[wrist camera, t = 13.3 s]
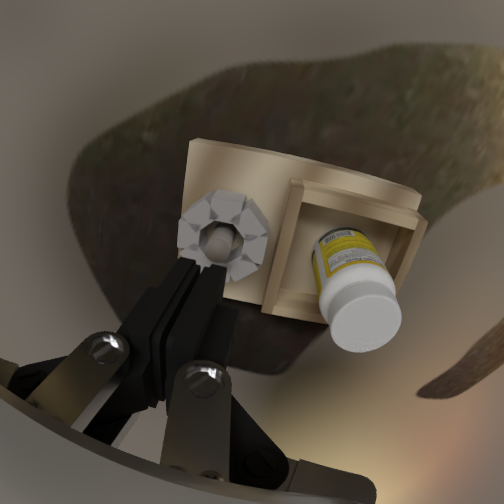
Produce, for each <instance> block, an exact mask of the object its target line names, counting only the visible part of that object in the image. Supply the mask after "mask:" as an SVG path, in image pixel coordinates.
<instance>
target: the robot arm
mask: <svg viewBox="0 0 504 504" xmlns="http://www.w3.org/2000/svg"><path fill="white" fill-rule="evenodd" d="M200 271H201V266H200V265H197V264H196V260H194V259H190V258H185V257H179V258H178V260H177V261H176V263H175V264H174V265H173V267H172V268H171V270H170V271H169V272H168V274H167V275H166V277H165V278H164V280H163V281H162V283H161V284H160V285H159V287H158V288H155V287H149V288H148V289H147V290H146V291H145V293H144V294H143V295H142V297H141V298H140V300H139V301H138V302H137V304H136V305H135V307H134V308H133V309H132V311H131V312H130V314H129V315H128V316H127V318H126V319H125V321H124V322H123V324H122V325H121V326H120V328H119V329H118V331H117V332H116V333H114V332H111V331H100V332H96V333H94V334H91V335H90V336H88V337H87V338H85V339H84V340H83V342H81V343H80V344H79V345H78V346H77V347H76V348H75V349H74V350H73V351H72V353H70V354H69V355H68V356H64V357H59V358H55V359H51V360H47V361H42V362H38V363H33V364H29V365H25V366H23V367H19V365H18V364H16V363H14V362H10V361H7V360H4V359H1V358H0V504H375V502H376V495H377V494H376V488H375V485H374V483H373V482H372V481H371V480H369V479H368V478H367V477H364V476H362V475H359V474H354V473H350V472H346V471H342V470H338V469H334V468H330V467H326V466H323V465H319V464H316V463H312V462H309V461H306V460H302V459H300V460H299V461H297V460H293V459H290V458H287V457H286V456H285V455H284V453H283V452H282V451H281V450H280V449H279V448H278V447H277V445H275V443H274V442H273V441H272V440H271V439H270V438H269V437H268V436H267V435H266V434H265V432H264V431H263V430H262V429H261V428H260V427H259V426H258V425H257V423H256V422H255V421H254V420H253V419H252V418H251V417H250V416H249V414H248V413H247V412H246V411H245V410H244V408H243V407H242V406H241V405H240V404H239V403H238V401H237V400H236V399H235V398H234V397H233V395H232V394H231V391H232V389H231V388H232V383H231V377H230V375H229V374H228V372H227V371H226V367H227V363H228V359H229V355H230V352H231V348H232V344H233V340H234V336H235V331H236V326H237V322H238V317H239V311H240V309H239V308H235V307H230V306H226V305H222V300H223V293H224V287H225V281H226V275H227V267H224V266H220V265H215V264H211V265H210V267H206V266H205V267H204V268H203V270H202V272H201V274H200ZM165 398H166V411H167V416H168V418H167V423H166V428H165V435H164V440H163V446H162V451H161V458H160V464H157V463H154V462H151V461H148V460H145V459H142V458H140V457H137V456H134V455H132V454H129V453H126V452H124V451H121V450H119V449H117V448H118V447H119V445H120V444H121V442H122V440H123V439H124V438H125V436H126V435H127V433H128V432H129V430H130V429H131V427H132V426H133V424H134V423H135V421H136V420H137V418H138V416H139V414H140V411H143V410H146V409H147V408H148V406H150V407H153V408H156V406H157V403H158V401H164V400H165Z"/></svg>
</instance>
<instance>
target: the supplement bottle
mask: <svg viewBox="0 0 504 504" xmlns="http://www.w3.org/2000/svg"><path fill="white" fill-rule="evenodd" d="M311 260H312V267H313V272H314V278H315V283H316V289H317V295H318V302H319V308H320V311H321V314H322V316H323V318H324V319H325V321H326V322H327V323H328V324H329V328H330V333H331V336H332V339H333V340H334V342H335V343H336V344H337V345H338V346H339V347H341V348H342V349H344V350H347V351H350V352H367V351H371V350H374V349H377V348H379V347H381V346H383V345H384V344H386V343H387V342H388V341H389V340H391V339H392V338H393V337H394V335H395V334H396V332H397V331H398V329H399V327H400V324H401V318H402V317H401V310H400V308H399V305H398V302H397V299H396V290H395V285H394V282H393V279H392V277H391V275H390V274H389V272H388V270H387V268H386V267H385V265H384V263H383V261H382V260H381V258H380V256H379V254H378V253H377V251H376V249H375V248H374V246H373V244H372V243H371V241H370V240H369V238H368V237H367V236H366V235H365V234H364V233H363V232H362V231H361V230H359V229H357V228H354V227H350V226H338V227H335V228H332V229H330V230H328V231H326V232H325V233H323V234H322V235H321V236H320V237H319V238H318V240H317V241H316V243H315V245H314V247H313V250H312V256H311Z"/></svg>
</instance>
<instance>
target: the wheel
mask: <svg viewBox="0 0 504 504" xmlns="http://www.w3.org/2000/svg"><path fill="white" fill-rule="evenodd" d="M245 200H246V194H241V193H236V192H230V191H225V190H220V189H218V190H217V191H216V193H215V194H214V193H213V191H211V192H209V193H208V194H206V195H205V196H203V197H202V198H201V199H199V200H198V201H196V202H195V203H194V204H192V205H191V206H190V207H189V208H188V209H187V210H186V211H185V213H184V214H183V215H182V216H183V217H182V218H181V219H180V220H179V228H178V241H177V247H179V248H182V249H181V250H180V252H179V253H180V254H181V256H182V257H185V258H190V259H194V260H196V264H197V265H200V266H201V271H202V270H203V268H204V267H205V266H206V267H210V265H211V264H215V265H220V266H224V267H227V275H226V281H225V282H227V283H229V282H230V278H232V279H233V280H234V281H235V282H236V281H238V280H240V279H242V278H244V277H245V276H247V275H249V274H251V273H253V272H255V271H256V270H258V269H259V264H261V265H262V263H263V258H264V254H265V250H266V245H267V241H268V234H269V227H268V220H267V219H266V217H265V216H264V214H263V213H262V212H261V210H260V209H259V207H258V206H257V204H256V203H255V202H254V200H253V199H252V198H251V199H250V200H248V201H247V202H245ZM214 220H215V221H220V222H225V223H230V224H234V226H235V227H236V228H237V230H238V231H239V232H240V234H241V235H242V237H243V238H244V244H242V245H240V246H239V247H237V248H235V249H233V250H232V251H230V254H229V257H228V258H227V260H225V261H224V262H221V263H216V262H213V261H211V260H209V259H208V258H207V256H206V255H205V246H206V244H207V242H208V240H209V239H208V238H207V237H206V235H205V231H206V226H207V225H208V224H210V223H211V222H213V221H214ZM201 271H200V272H201Z"/></svg>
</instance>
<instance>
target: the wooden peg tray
mask: <svg viewBox="0 0 504 504" xmlns="http://www.w3.org/2000/svg"><path fill="white" fill-rule="evenodd" d="M218 189H220V190H225V191H230V192H236V193H241V194H246V200H245V202H247V201H248V200H250V199H251V198H252V199H253V200H254V202H255V203H256V204H257V206H258V207H259V209H260V210H261V212H262V213H263V214H264V216H265V217H266V219H267V220H268V227H269V234H268V241H267V245H266V250H265V254H264V258H263V263H262V265H261V264H259V269H258V270H256V271H255V272H253V273H251V274H249V275H247V276H245V277H244V278H242V279H240V280H238V281H236V282H235V281H234V280H233V279H232V278H230V282H229V283H227V282H225V287H224V293H223V297H226V298H230V299H235V300H240V301H245V302H250V303H255V304H260V305H262V309H261V312H263V313H268V314H273V315H278V316H284V317H289V318H295V319H300V320H306V321H312V322H318V323H324V324H328V323H327V322H326V321H325V319H324V318H323V316H322V314H321V311H320V308H319V302H318V295H317V289H316V283H315V278H314V272H313V267H312V260H311V256H312V250H313V247H314V245H315V243H316V241H317V240H318V238H319V237H320V236H321V235H322V234H323V233H325V232H326V231H328V230H330V229H332V228H335V227H338V226H350V227H354V228H357V229H359V230H361V231H362V232H363V233H364V234H365V235H366V236H367V237H368V238H369V240H370V241H371V243H372V244H373V246H374V248H375V249H376V251H377V253H378V254H379V256H380V258H381V260H382V261H383V263H384V265H385V267H386V268H387V270H388V272H389V274H390V275H391V277H392V279H393V282H394V285H395V290H396V297H397V294H398V292H399V290H400V288H401V286H402V284H403V281H404V280H405V277H406V275H407V273H408V271H409V269H410V266H411V264H412V262H413V259H414V257H415V254H416V252H417V250H418V247H419V245H420V242H421V240H422V237H423V235H424V232H425V230H426V227H427V224H428V222H427V221H426V220H425V219H424V218H423V217H422V216H421V215H420V214H419V213H418V212H417V209H418V206H419V203H420V200H421V197H422V195H420V194H419V193H418V192H416V191H415V190H414V189H412V188H410V187H407V186H404V185H400V184H397V183H394V182H391V181H388V180H385V179H381V178H378V177H375V176H371V175H368V174H364V173H361V172H357V171H353V170H350V169H346V168H342V167H339V166H335V165H331V164H327V163H323V162H319V161H315V160H310V159H306V158H302V157H297V156H293V155H288V154H284V153H279V152H274V151H269V150H264V149H259V148H254V147H248V146H243V145H237V144H231V143H225V142H219V141H212V140H206V139H199V138H197V139H194V140H192V141H190V143H189V151H188V159H187V167H186V175H185V184H184V194H183V204H182V214H181V218H182V217H183V216H182V215H183V214H184V213H185V211H186V210H187V209H188V208H189V207H190V206H191V205H192V204H194V203H195V202H196V201H198V200H199V199H201V198H202V197H203V196H205V195H206V194H208V193H209V192H211V191H213V193H214V194H215V193H216V191H217V190H218ZM205 235H206V237H207V238H208V239H209V240H208V242H207V244H206V246H205V255H206V256H207V258H208V259H209V260H211V261H213V262H216V263H221V262H224V261H225V260H227V258H228V257H229V254H230V251H232V250H233V249H235V248H237V247H239V246H240V245H242V244H244V238H243V237H242V235H241V234H240V232H239V231H238V230H237V228H236V227H235V226H234V224H230V223H225V222H220V221H215V220H214V221H213V222H211V223H210V224H208V225H207V226H206V231H205ZM181 249H182V248H179V251H178V258H179V257H182V256H181V254H180V253H179V252H180V250H181ZM201 272H202V271H201ZM201 272H200V274H201Z"/></svg>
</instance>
